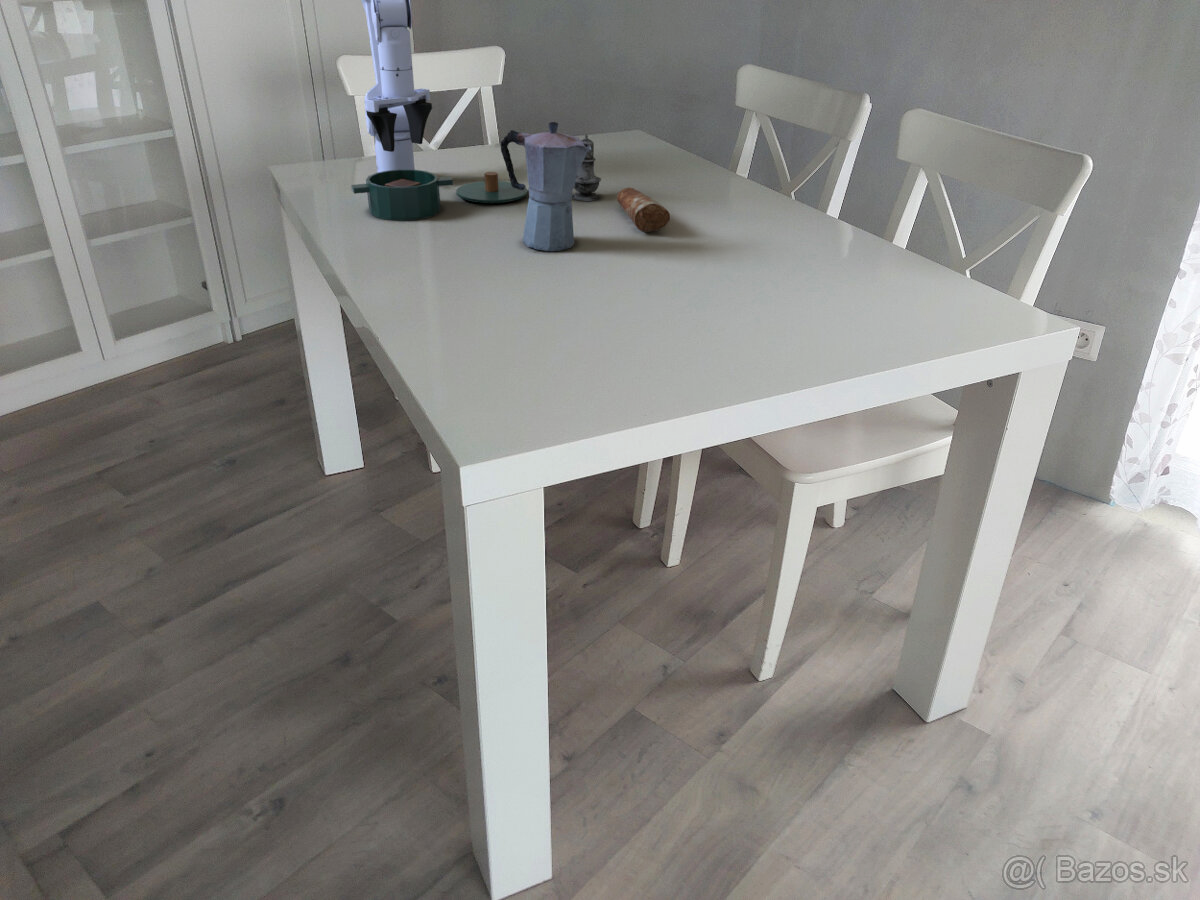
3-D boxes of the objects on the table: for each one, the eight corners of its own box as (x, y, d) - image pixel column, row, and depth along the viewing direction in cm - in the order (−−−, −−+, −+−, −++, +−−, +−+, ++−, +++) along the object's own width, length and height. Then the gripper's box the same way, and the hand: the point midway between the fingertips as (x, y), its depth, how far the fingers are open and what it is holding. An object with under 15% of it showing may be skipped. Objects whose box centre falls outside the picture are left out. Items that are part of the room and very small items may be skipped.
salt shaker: (600, 201, 181) (601, 137, 175) (569, 201, 181) (570, 137, 175) (600, 193, 186) (602, 131, 180) (571, 192, 186) (571, 130, 180)
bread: (635, 237, 162) (636, 205, 160) (612, 206, 179) (613, 176, 176) (670, 235, 164) (672, 203, 161) (644, 204, 180) (646, 175, 177)
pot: (349, 205, 176) (345, 173, 172) (444, 196, 182) (442, 166, 179) (362, 225, 165) (358, 191, 162) (462, 215, 172) (460, 182, 169)
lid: (448, 189, 186) (447, 167, 184) (514, 183, 191) (513, 162, 188) (467, 208, 175) (466, 185, 173) (537, 202, 180) (536, 179, 178)
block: (387, 209, 173) (384, 184, 170) (404, 203, 176) (401, 178, 174) (405, 213, 171) (403, 188, 168) (422, 207, 174) (420, 182, 172)
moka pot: (584, 256, 153) (585, 130, 143) (494, 249, 156) (489, 124, 146) (596, 238, 161) (598, 118, 151) (510, 231, 164) (506, 112, 154)
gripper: (384, 75, 159) (391, 157, 166) (440, 65, 169) (445, 142, 176) (354, 71, 162) (362, 151, 169) (411, 61, 172) (417, 137, 179)
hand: (403, 147), depth 173 cm, fingers open, 7 cm apart
